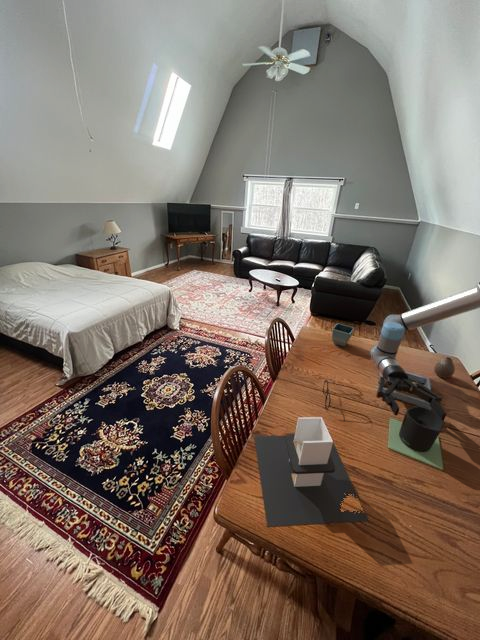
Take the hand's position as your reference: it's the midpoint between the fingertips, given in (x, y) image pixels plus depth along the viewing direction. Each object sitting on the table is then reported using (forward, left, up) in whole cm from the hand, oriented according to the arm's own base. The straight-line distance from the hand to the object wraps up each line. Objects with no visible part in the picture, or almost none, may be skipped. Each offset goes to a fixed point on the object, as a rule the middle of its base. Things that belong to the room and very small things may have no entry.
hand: (420, 414), depth 82 cm
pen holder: (-1, +2, -9) cm, 9 cm away
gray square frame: (+2, -27, -9) cm, 29 cm away
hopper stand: (+26, +30, -9) cm, 41 cm away
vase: (-13, -46, -9) cm, 49 cm away
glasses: (+21, -5, -9) cm, 24 cm away
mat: (-1, +2, -9) cm, 10 cm away
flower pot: (+31, -50, -9) cm, 60 cm away
